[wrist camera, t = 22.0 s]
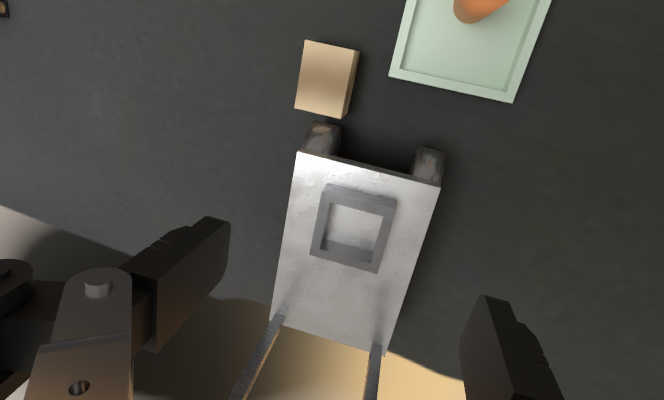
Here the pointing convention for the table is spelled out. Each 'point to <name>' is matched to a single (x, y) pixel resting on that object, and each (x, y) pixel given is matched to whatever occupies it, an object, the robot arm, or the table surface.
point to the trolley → (348, 249)
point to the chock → (326, 79)
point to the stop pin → (475, 9)
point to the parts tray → (468, 47)
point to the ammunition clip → (3, 9)
